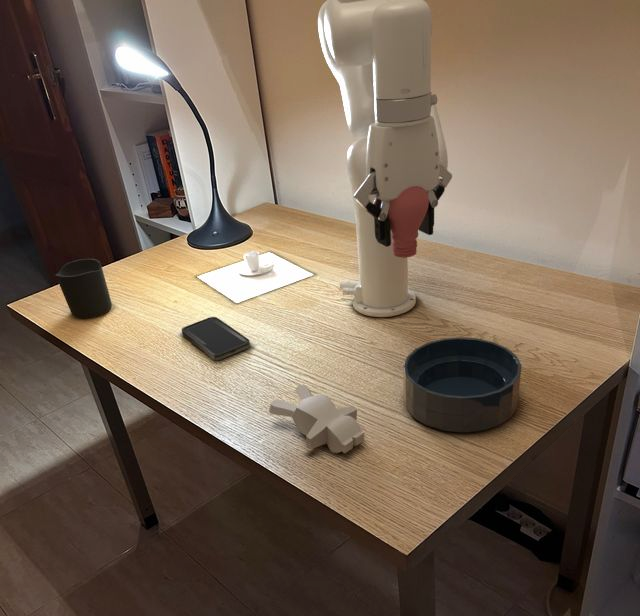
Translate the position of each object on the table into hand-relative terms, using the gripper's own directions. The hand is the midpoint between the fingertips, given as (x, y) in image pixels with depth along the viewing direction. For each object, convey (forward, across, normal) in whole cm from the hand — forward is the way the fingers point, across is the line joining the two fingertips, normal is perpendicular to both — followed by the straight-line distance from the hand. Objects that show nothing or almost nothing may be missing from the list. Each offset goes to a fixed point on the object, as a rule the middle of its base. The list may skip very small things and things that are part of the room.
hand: (404, 237), depth 96 cm
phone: (+22, +26, -27) cm, 43 cm away
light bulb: (+4, 0, 0) cm, 4 cm away
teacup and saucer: (+21, +9, -52) cm, 57 cm away
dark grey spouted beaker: (+21, +45, -57) cm, 76 cm away
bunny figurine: (+22, +22, +10) cm, 33 cm away
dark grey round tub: (+22, 0, +15) cm, 27 cm away
